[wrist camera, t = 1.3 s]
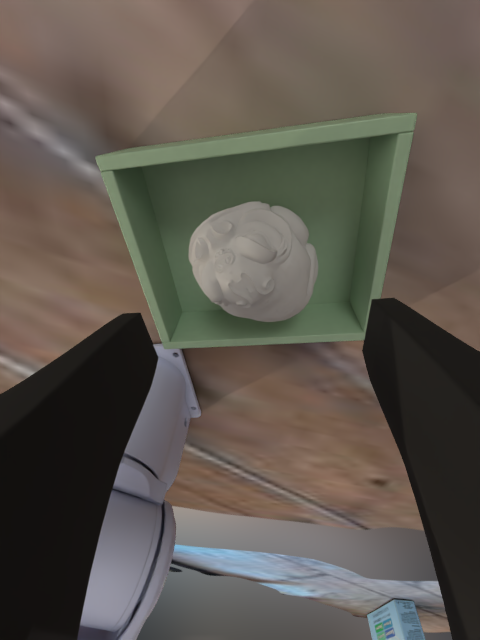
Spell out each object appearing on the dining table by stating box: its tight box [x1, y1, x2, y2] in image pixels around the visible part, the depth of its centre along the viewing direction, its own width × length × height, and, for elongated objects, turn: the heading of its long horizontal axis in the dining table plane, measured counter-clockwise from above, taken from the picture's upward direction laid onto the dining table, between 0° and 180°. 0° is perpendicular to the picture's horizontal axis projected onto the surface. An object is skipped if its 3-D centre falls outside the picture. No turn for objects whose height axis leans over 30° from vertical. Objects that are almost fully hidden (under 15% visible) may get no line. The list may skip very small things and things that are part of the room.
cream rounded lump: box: [189, 201, 318, 322], centre depth 15 cm, size 6×7×7 cm
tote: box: [96, 113, 417, 349], centre depth 16 cm, size 11×13×4 cm
